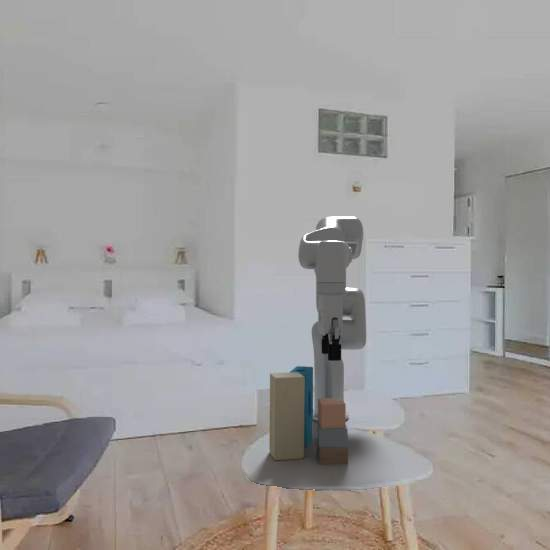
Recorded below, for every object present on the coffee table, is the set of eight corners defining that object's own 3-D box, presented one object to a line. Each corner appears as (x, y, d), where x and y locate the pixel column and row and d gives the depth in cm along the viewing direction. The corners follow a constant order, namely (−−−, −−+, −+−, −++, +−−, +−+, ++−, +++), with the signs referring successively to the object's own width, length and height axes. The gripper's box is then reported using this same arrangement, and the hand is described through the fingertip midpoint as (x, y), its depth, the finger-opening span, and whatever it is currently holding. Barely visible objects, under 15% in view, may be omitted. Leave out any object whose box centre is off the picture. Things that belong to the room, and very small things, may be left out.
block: (305, 449, 144) (305, 375, 144) (287, 448, 145) (287, 374, 145) (313, 435, 156) (313, 366, 155) (296, 434, 157) (296, 366, 156)
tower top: (317, 437, 140) (317, 420, 140) (344, 438, 140) (344, 420, 140) (319, 447, 133) (319, 428, 133) (347, 447, 133) (347, 429, 133)
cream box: (297, 448, 145) (297, 371, 144) (305, 458, 137) (305, 376, 137) (268, 451, 143) (268, 372, 142) (274, 461, 136) (274, 378, 135)
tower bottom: (316, 455, 140) (316, 438, 140) (343, 455, 140) (343, 437, 140) (320, 465, 133) (320, 447, 133) (348, 465, 133) (348, 447, 133)
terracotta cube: (317, 421, 139) (317, 398, 139) (340, 421, 140) (340, 398, 140) (321, 428, 134) (321, 404, 133) (345, 428, 134) (345, 404, 134)
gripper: (311, 288, 144) (311, 351, 145) (321, 291, 127) (321, 363, 128) (339, 287, 145) (339, 351, 145) (353, 291, 128) (353, 363, 128)
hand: (331, 356), depth 136 cm, fingers open, 9 cm apart
